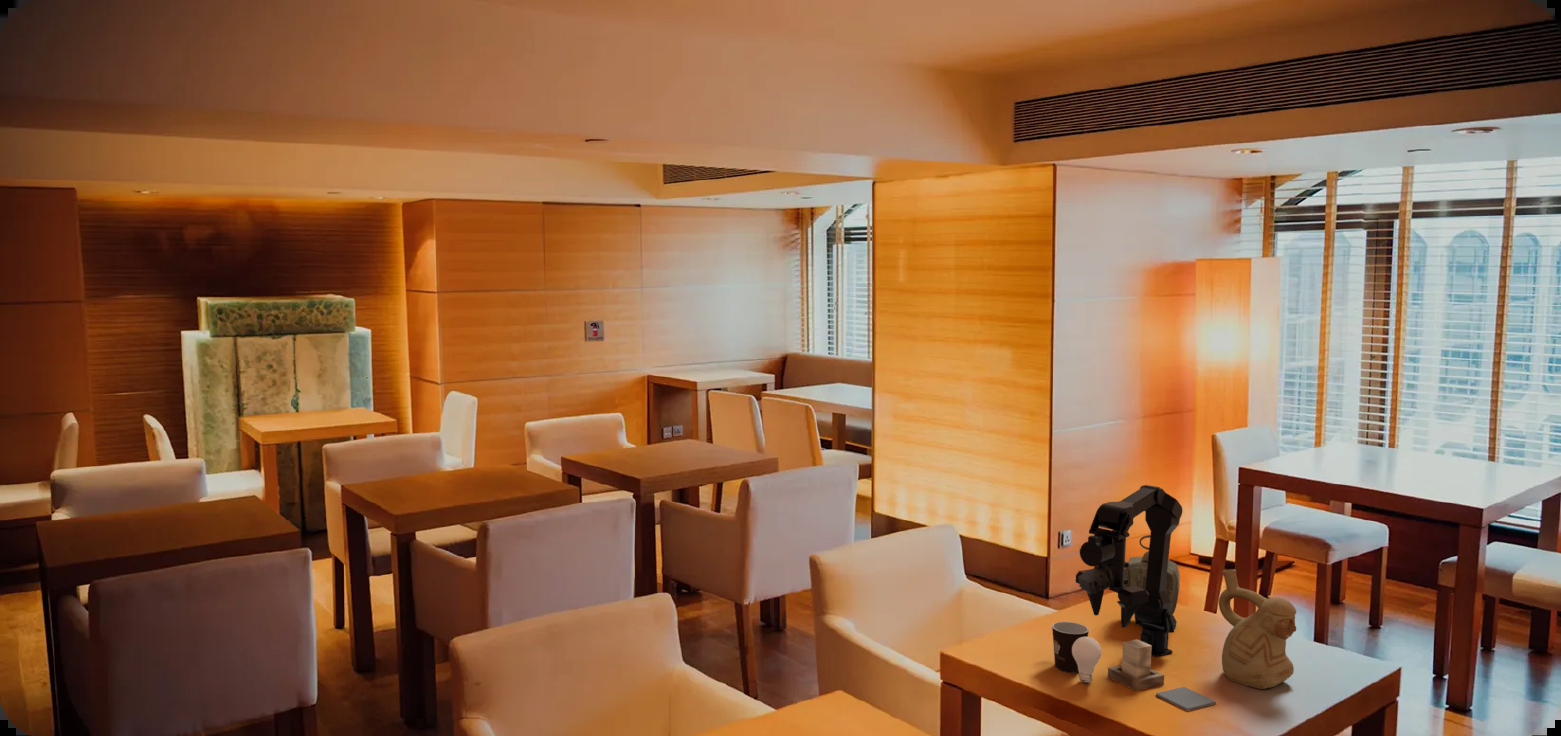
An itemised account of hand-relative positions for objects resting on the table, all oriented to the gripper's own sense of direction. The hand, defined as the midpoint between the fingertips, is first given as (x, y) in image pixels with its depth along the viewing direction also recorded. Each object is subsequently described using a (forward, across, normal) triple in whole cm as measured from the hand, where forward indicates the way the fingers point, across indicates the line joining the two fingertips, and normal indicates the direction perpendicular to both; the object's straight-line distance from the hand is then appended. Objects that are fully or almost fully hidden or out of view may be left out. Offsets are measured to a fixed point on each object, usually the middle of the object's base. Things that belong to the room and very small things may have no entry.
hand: (1109, 621), depth 243 cm
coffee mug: (+14, -8, -5) cm, 17 cm away
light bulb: (+13, +2, -8) cm, 16 cm away
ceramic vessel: (+14, +15, +31) cm, 37 cm away
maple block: (+13, +5, +4) cm, 15 cm away
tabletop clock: (+14, -23, +36) cm, 45 cm away
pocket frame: (+13, +5, +4) cm, 15 cm away
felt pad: (+13, +18, +6) cm, 23 cm away
